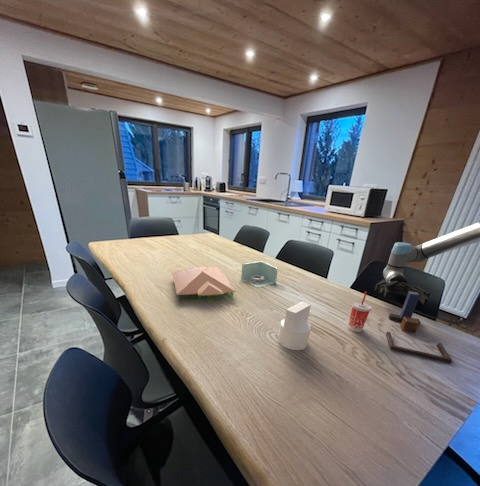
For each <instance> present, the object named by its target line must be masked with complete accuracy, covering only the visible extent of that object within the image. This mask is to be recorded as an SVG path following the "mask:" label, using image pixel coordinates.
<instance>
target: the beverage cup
mask: <svg viewBox="0 0 480 486" xmlns="http://www.w3.org/2000/svg"><path fill="white" fill-rule="evenodd" d="M367 294H368V291H367V290H366V291H364V295H363V299H362V300H361V301H353V302H352V303H351V311H350V316H349V320H348V325H347V328H348V329H349V330H350V331H352V332H356V333H361V332H362V331H363V329H364V327H365V324H366V321H367V319H368V317H369V315H370V312H371V311H372V308H373V307H372V305H370V304H369V303H366V302H365V300H366V296H367Z"/></svg>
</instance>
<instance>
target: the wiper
mask: <svg viewBox="0 0 480 486" xmlns="http://www.w3.org/2000/svg"><path fill="white" fill-rule="evenodd" d="M419 297H420V295H419V293H417V292H411V291H409V292H408V293H407V294H406V298H405V300H404V303H403V306H402V308H401V311H400V313H399V314H395V313H390V312H389V314H388V319H389V320H390V321H395V322H400V323H402V320H403V318H404V316H405V317H410V318H413V317H412V316H413V314H414V312H415V309H416V307H417V304H418V302H419ZM414 318H415V319H417V321H418V323H419V325H420V324H421V320H420V319H419V318H416V317H414Z"/></svg>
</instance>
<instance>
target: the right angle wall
mask: <svg viewBox="0 0 480 486" xmlns="http://www.w3.org/2000/svg"><path fill="white" fill-rule="evenodd" d="M278 271H279V268H278V267H277V266H274V265H272V264H270V263H268V262H265V261H262V260H259V261H252V262H246V263H242V264H241V275H240V279H241V280H243V281H244V282H246V283H247V284H250V285H252V286H254V287H256V288H259V287H265V286H268V285H273V284H276V283H277V279H278V273H279V272H278Z"/></svg>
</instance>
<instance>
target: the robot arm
mask: <svg viewBox="0 0 480 486" xmlns="http://www.w3.org/2000/svg"><path fill="white" fill-rule="evenodd" d="M478 242H480V214H479V215H478V221H477V222H474V223H472V224H470V225H467V226H465V227H462V228H459V229H456V230H454V231H451V232H448V233H447V234H446V233H445V234H444V235H441V236H438V237H436V238H434V239H430V240H429V241H426V242H423V243H421V244H418V245H412V243H409V242H401V241H397V242H395V243H394V244H393V247H392V249H391V252H390V254H389V258H388V262H387V264H386V267H385V268H384V269H383V271H382V276H383V279H382V280H381V281H379V282H377V283H376V284H375V287H374V290H375V291H378V293H379V294H382V295H383V297H384V298H385V299H388V295H389V293H390V292H389V291H392V292H395V293H397V292H399V293H400V292H402V293H404V294H408V292H409V291H411V292H417V293H419V295H420V297H419V299H418V301H420V303H421V304H422V305H423V306H426V305H427V302H428V300H429V299H430V296H431V293H430V292H428V291H427V290H425V289H423V288H421V287H419V286H418V285H416V284H413V285H410V284H408V280H407V278H406V277H405V275H404V271H405V268H406V265H407V264H408V263H419V262H420V263H421V262H424V261H426V260H428V259H430V258H432V257H436V256H438V255H439V256H440V255H442V254H445V253H448V252H451V251H454V250H457V249H460V248H464V247H467V246H469V245H473V244H475V243H478Z"/></svg>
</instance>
